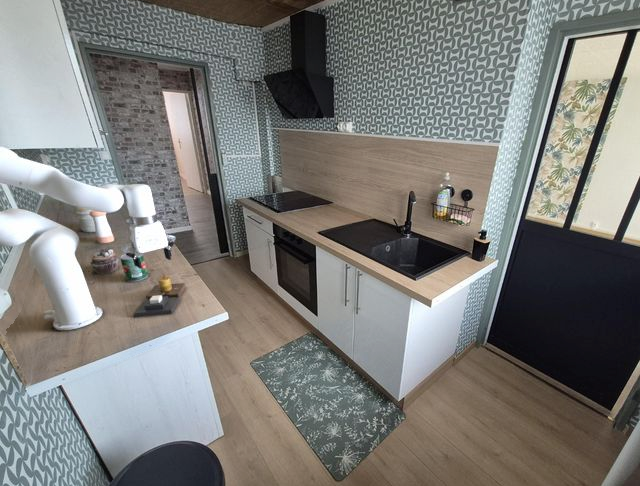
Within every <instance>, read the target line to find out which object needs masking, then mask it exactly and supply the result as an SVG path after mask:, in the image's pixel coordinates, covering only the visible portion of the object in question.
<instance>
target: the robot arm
mask: <svg viewBox="0 0 640 486" xmlns="http://www.w3.org/2000/svg"><path fill="white" fill-rule="evenodd" d="M0 184H3V185H7V186H11V187H15V188H20V189H22V190H23V189H24V190H28V191H30V192H35V193H39V194H43V195H46V196H48V197H50V198H52V199H54V200H58V201H60V202H62V203H65V204H68V205H70V206H74V207H76V208H77V207H81V208H85V209H89V210H94V211H98V212H104V213H106V214H109V213H114V212H117V211H119V210H120V209H121V208H122V206H123V205H126V207H127V211H128V215H129V216H128V218H126V219H125V223H126V224H129V239H130V241H129V242H128V243H126V244H125V245H124V246H122V247H120V249H119V250H120V252H122V253H123V255H124V254H126V255H127V256H129V257H131V258H133V261H134V265H135V266H137V267H138V268H142V265H141V261H140V258H138V256H139V255H140V253H142V254H145V253H149V252H153V251H157V250H161V249H163V252H164V258H165V259H167V260H169V261H170V260H172V248H173V246H174V245H175V242H176V239H177V237H176V236H174V235H171V234H166V231H165V229H164V226H163V224H162V222H161V221H160V220H158V216H157V213H156V208H155V203H154V198H153V194H152V189H151V186H149V185H148V184H145V183H133V184H117V183H105V184H102V185H100V186H95V185H90V184H87V183H84V182H82V181H78V180H75V179H73V178H71V177H70V176H68V175H66V174H65V173H63V172H62V171H61V170H59V169H58V168H56V167H54V166H52V165H48V164H44V163H41V162H38V161H35V160H31V159H27V158H24V157H21V156H19V155H18V154H17V152H14V151H13V150H11V149H9V148H7V147H4V146H0ZM168 239H169V241H168ZM26 242H27V243H30V244H31V245H30V247H29V249H28V257H29V260H30V262H31V264H32V265H33V266H34V268H35V270H36V271H37V274H39V277H40V279H41V281H42V284H43V287H44V288H45V291H46V293H47V296H48V298H49V300H50V303H51V306H52V308H53V309H48V310H45V311H44V314H43V315H44V316H43V318H44V320H52V319H53V322H52V326H53V328H54V329H55V330H56V331H57V330H58V331H71V330H76V329H80V328H84V327H86V326H88V325H91V324H93V323H94V322H96V321H97V320H99V319H100V318H101V317H102V315H103V309H102V308H101V307H99V306H95V304H94V301H93V298H92V296H91V292H90V289H89V286H88V284H87V281H86V278H85V275H84V272H83V269H82V267H81V265H80V263H79V261H78V260H77V257H76V251H77V249H78V247H79V246H80V245H79V244H80V237H79V235H78V234H77V233H76V232H75V231H74V230H72V229H70V228H69V227H67V226H65V225H63V224H60V223H58V222H55V221H54V220H51V219H49V218H47V217H45V216H43V215H40V214H38V213H36V212H34V211H30V210H28V209H23V208H8V209H4V210H1V211H0V246H1V247H6V248H14V247H19V246H21V245H23V244H24V243H26ZM131 248H132V250H133V251H131V252H132V253H131V252H130V251H129V249H131Z"/></svg>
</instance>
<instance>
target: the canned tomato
mask: <svg viewBox="0 0 640 486" xmlns="http://www.w3.org/2000/svg"><path fill="white" fill-rule="evenodd" d="M132 252H133V251H131V252H130V253H132ZM143 254H144V253H140V255H139V256H138V258H140V261H141V265H142V268H138V267H137V266H135V265H134V261H133V258H131V257H129V256H127V255H126V254H124V253H123V254H122V255H120V256H119V259H120V262H121V263H120V264H121V266H122V270H123V273H124V277H125V281H127V282H130V283H133V282H139V281H143V280H144V279H146V278H148V276H149V274H148V270H147V266H146V262H145V258H144V255H143Z"/></svg>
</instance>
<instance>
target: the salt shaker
mask: <svg viewBox="0 0 640 486" xmlns="http://www.w3.org/2000/svg"><path fill="white" fill-rule="evenodd" d="M89 214H90V216H92V217H93V221H94V225H95V232H94V233H95V235H96V236H95V237H96V240H97V243H98V244H107V243H112V242H114V241H115V236H114V234H113V233H112V229H111V226H110V224H109V222H108V219H107V220H106V218H107V213H104V212H98V211H94V210H92V211H90V213H89ZM105 215H106V216H105ZM107 222H108V223H107Z"/></svg>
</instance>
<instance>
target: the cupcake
mask: <svg viewBox="0 0 640 486" xmlns="http://www.w3.org/2000/svg"><path fill="white" fill-rule="evenodd" d="M118 262H119V259H118V255H117V253H116V252H114V249H112V248H100V249H98V250H96V252H95V253H94V255H93V256H92V258H91V261H90V265H91V267H92V268H93V270H94V272H95V273H96V274H99V275H104V274H109V273H113V272H115V271H116V270H118V267H119V265H118V264H119V263H118Z"/></svg>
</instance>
